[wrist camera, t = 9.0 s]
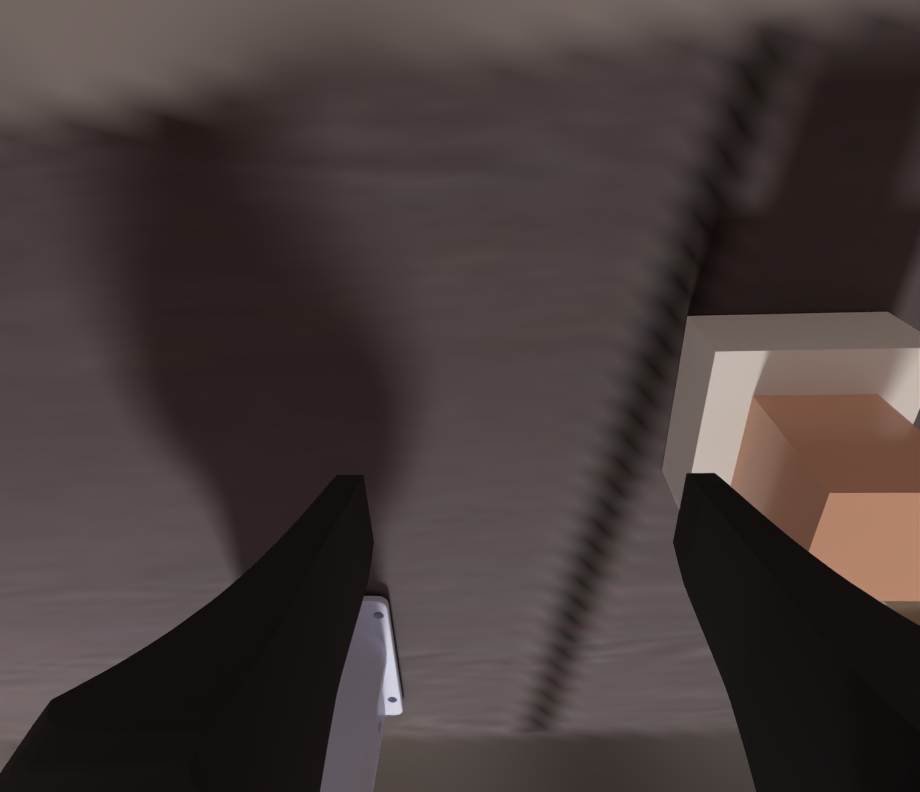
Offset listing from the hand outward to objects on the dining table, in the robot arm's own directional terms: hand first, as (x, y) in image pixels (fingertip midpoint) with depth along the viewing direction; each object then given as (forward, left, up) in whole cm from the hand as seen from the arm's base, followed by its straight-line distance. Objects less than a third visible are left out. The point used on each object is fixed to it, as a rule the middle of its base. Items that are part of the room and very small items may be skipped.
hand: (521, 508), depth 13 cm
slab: (-3, -10, -10) cm, 14 cm away
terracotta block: (-3, -10, -7) cm, 13 cm away
